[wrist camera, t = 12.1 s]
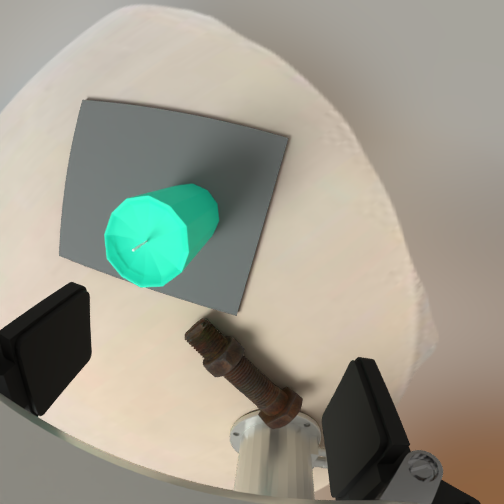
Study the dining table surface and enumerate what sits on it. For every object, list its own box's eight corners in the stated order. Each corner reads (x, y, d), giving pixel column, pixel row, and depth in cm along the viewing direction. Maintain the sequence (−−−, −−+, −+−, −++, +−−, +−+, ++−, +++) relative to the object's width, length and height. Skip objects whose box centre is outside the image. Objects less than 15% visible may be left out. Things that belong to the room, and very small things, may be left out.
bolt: (206, 307, 34) (289, 389, 36) (174, 338, 32) (262, 416, 34) (216, 313, 28) (310, 405, 30) (177, 350, 27) (279, 436, 29)
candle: (172, 253, 29) (116, 307, 18) (150, 197, 28) (77, 220, 16) (229, 234, 28) (198, 282, 17) (206, 173, 27) (157, 181, 15)
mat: (288, 138, 26) (288, 138, 25) (237, 313, 31) (236, 315, 31) (85, 100, 26) (82, 99, 25) (61, 254, 31) (59, 255, 30)
